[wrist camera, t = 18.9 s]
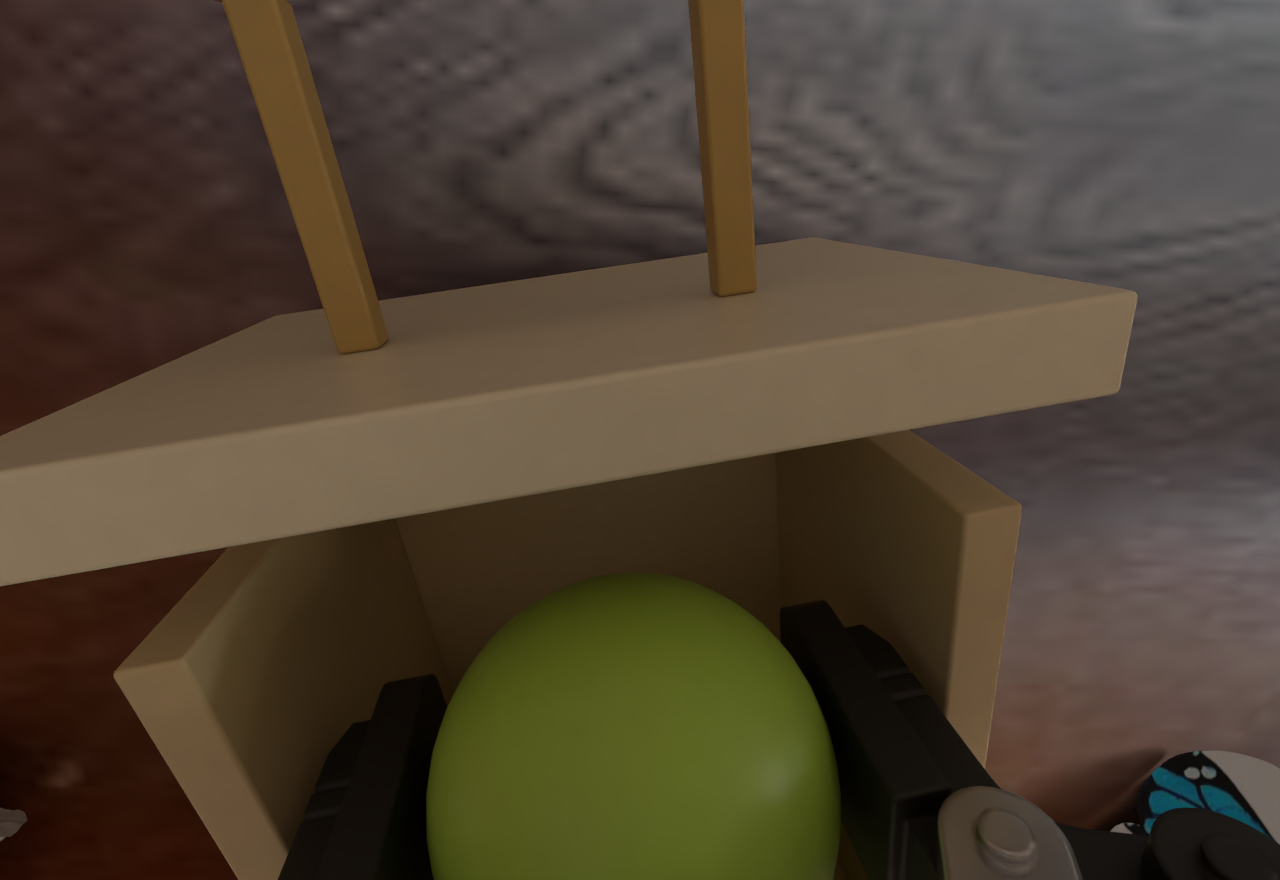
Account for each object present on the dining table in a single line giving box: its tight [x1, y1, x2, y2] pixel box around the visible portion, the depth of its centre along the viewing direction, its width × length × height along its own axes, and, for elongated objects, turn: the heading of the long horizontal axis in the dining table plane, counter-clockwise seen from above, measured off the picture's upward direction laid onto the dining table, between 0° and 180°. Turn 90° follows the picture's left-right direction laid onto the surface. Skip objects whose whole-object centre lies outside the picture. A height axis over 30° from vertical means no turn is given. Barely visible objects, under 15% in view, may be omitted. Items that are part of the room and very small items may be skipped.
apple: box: [426, 572, 841, 880], centre depth 8 cm, size 6×6×7 cm
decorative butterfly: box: [1110, 751, 1280, 844], centre depth 25 cm, size 10×6×10 cm
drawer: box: [0, 0, 1138, 880], centre depth 12 cm, size 21×13×9 cm, turn 7°
